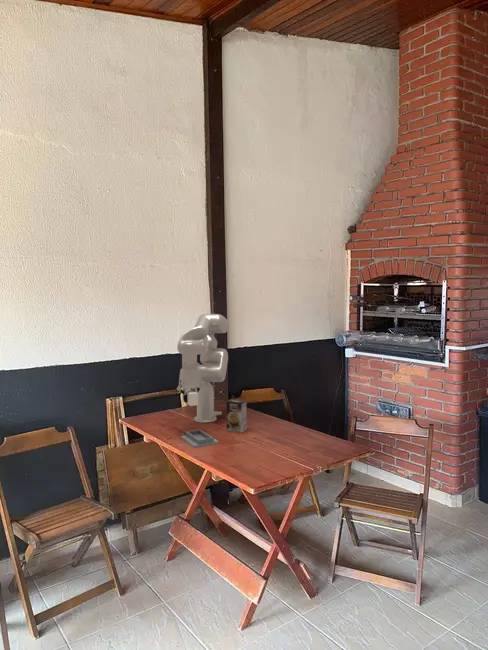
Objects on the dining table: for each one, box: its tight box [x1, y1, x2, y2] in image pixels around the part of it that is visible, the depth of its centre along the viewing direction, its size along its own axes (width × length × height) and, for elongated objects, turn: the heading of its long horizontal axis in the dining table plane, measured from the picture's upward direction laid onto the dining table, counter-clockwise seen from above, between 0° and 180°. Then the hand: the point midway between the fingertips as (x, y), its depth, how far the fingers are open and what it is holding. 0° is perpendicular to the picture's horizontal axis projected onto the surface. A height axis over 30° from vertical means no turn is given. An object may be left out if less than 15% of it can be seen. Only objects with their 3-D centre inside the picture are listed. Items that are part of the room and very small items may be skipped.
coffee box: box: [226, 398, 247, 434], centre depth 279 cm, size 9×6×16 cm
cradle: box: [180, 429, 220, 449], centre depth 263 cm, size 13×17×3 cm
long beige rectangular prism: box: [181, 389, 198, 407], centre depth 269 cm, size 4×12×6 cm, turn 27°
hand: (190, 401), depth 270 cm, fingers closed on long beige rectangular prism, 4 cm apart
